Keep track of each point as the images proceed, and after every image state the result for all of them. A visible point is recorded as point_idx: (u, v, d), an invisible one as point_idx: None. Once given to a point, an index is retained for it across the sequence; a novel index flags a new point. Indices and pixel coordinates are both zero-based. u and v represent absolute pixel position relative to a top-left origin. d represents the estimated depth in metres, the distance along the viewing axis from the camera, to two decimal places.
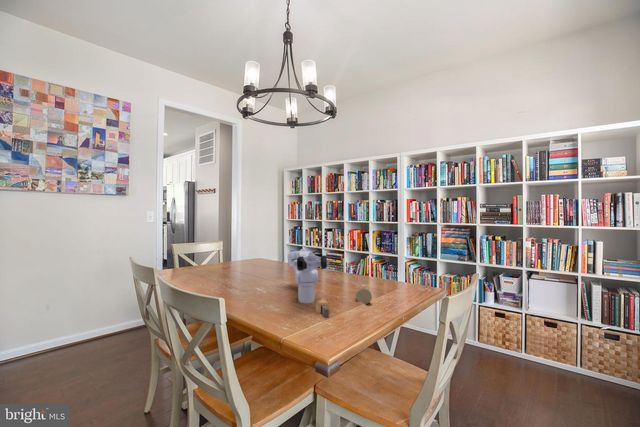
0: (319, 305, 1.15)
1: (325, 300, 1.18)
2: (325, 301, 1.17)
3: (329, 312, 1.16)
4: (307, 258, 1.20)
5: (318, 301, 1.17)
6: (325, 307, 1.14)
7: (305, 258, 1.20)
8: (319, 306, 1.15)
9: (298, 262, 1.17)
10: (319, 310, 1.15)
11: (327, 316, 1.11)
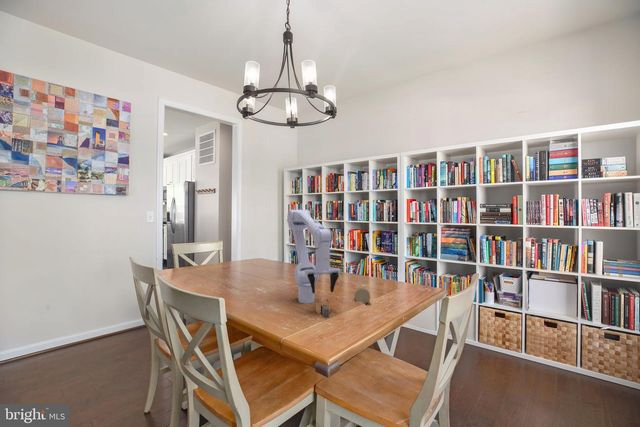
0: (319, 305, 1.15)
1: (325, 300, 1.18)
2: (325, 301, 1.17)
3: (329, 312, 1.16)
4: None
5: (318, 301, 1.17)
6: (325, 307, 1.14)
7: None
8: (319, 306, 1.15)
9: None
10: (319, 310, 1.15)
11: (327, 316, 1.11)
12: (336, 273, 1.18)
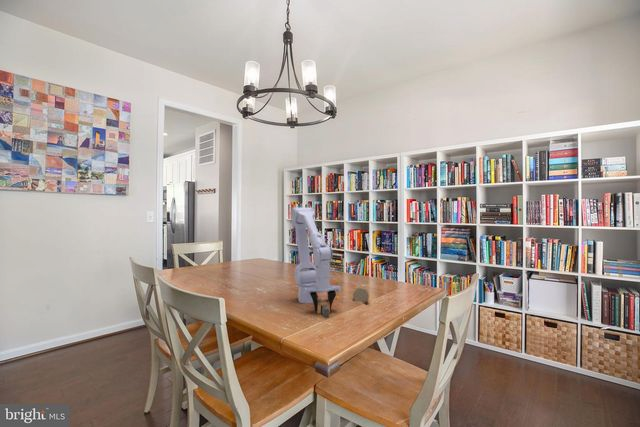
0: (319, 305, 1.15)
1: (325, 300, 1.18)
2: (325, 301, 1.17)
3: (329, 312, 1.16)
4: None
5: (318, 301, 1.17)
6: (325, 307, 1.14)
7: None
8: (319, 306, 1.15)
9: None
10: (319, 310, 1.15)
11: (327, 316, 1.11)
12: None
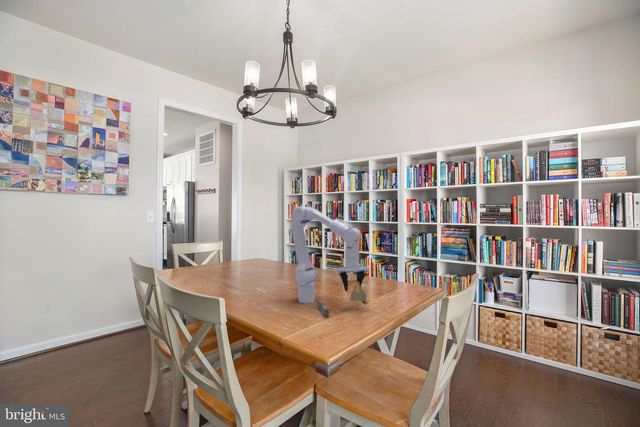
0: (349, 285, 1.18)
1: (354, 280, 1.21)
2: (355, 281, 1.20)
3: (359, 292, 1.19)
4: None
5: (348, 281, 1.20)
6: (325, 307, 1.14)
7: None
8: (349, 286, 1.18)
9: None
10: (349, 290, 1.18)
11: (327, 316, 1.11)
12: (365, 271, 1.21)
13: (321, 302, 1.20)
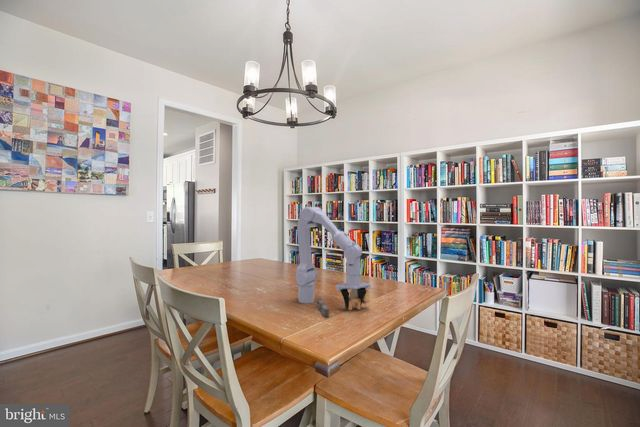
0: (350, 302, 1.18)
1: (355, 297, 1.21)
2: (356, 298, 1.20)
3: None
4: None
5: (349, 298, 1.20)
6: (325, 307, 1.14)
7: None
8: (350, 303, 1.18)
9: None
10: (350, 307, 1.18)
11: (327, 316, 1.11)
12: None
13: (321, 302, 1.20)
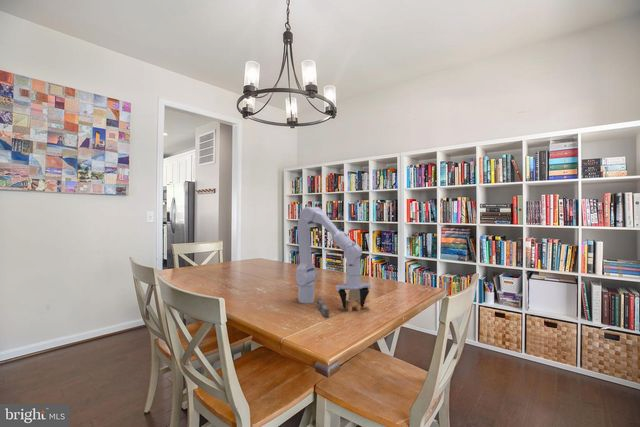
0: (350, 305, 1.18)
1: (355, 300, 1.21)
2: (356, 301, 1.20)
3: None
4: None
5: (349, 301, 1.20)
6: (325, 307, 1.14)
7: None
8: (350, 306, 1.18)
9: None
10: (350, 310, 1.18)
11: (327, 316, 1.11)
12: (366, 288, 1.21)
13: (321, 302, 1.20)
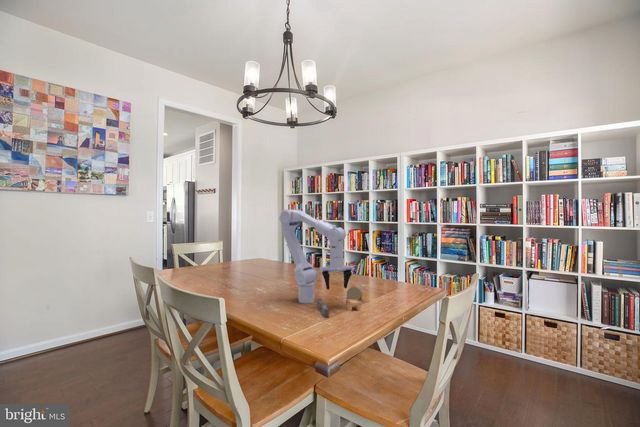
0: (350, 305, 1.18)
1: (355, 300, 1.21)
2: (356, 301, 1.20)
3: None
4: None
5: (349, 301, 1.20)
6: (325, 307, 1.14)
7: None
8: (350, 306, 1.18)
9: None
10: (350, 310, 1.18)
11: (327, 316, 1.11)
12: (349, 270, 1.23)
13: (321, 302, 1.20)
